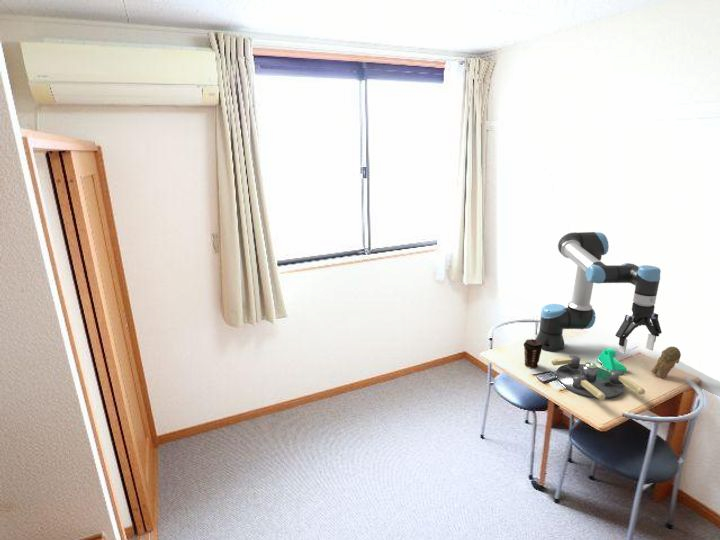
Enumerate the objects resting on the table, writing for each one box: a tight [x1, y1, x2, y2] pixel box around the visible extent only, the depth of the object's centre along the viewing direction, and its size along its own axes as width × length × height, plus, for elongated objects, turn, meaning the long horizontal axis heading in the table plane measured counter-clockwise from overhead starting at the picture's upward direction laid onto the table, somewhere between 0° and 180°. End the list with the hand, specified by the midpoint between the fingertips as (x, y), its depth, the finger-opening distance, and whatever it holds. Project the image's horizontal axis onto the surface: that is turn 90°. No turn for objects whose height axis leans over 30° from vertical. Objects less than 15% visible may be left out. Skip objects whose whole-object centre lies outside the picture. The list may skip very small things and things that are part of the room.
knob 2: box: [610, 370, 646, 396], centre depth 184 cm, size 18×5×5 cm, turn 10°
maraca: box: [551, 354, 581, 369], centre depth 203 cm, size 14×5×5 cm, turn 100°
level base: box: [555, 361, 625, 400], centre depth 193 cm, size 28×28×10 cm
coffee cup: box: [523, 339, 543, 369], centre depth 209 cm, size 9×8×13 cm
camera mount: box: [597, 348, 627, 373], centre depth 206 cm, size 12×8×10 cm, turn 2°
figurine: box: [650, 346, 682, 378], centre depth 196 cm, size 8×8×15 cm
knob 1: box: [573, 374, 606, 401], centre depth 181 cm, size 18×5×5 cm, turn 10°
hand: (635, 350), depth 175 cm, fingers open, 13 cm apart
